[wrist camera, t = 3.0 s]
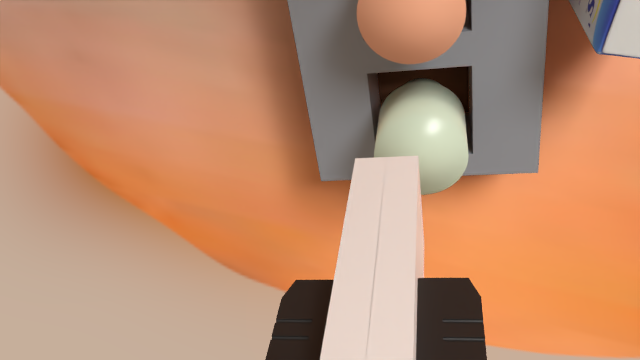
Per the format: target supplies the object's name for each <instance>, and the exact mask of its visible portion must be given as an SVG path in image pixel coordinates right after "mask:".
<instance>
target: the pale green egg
mask: <svg viewBox="0 0 640 360" xmlns="http://www.w3.org/2000/svg"><path fill="white" fill-rule="evenodd" d="M398 156H418V158H419V173H420V188H421V195H425V194H432V193H437V192H440V191H442V190H445V189H447V188H448V187H450V186H452V185H453V184H454V183H456V182H457V181H458V180H459V179H460V177H461V176H462V175H463V173H464V171H465V169H466V167H467V164H468V156H469V155H468V144H467V133H466V122H465V112H464V108H463V105H462V103H461V101H460V100H459V98H458V97H457V96H456V95H455V94H454V93H453V92H452V91H451V90H449V89H448V88H446V87H444V86H442V85H441V84H440V83H438V82H437V81H435V80H432V79H429V78H416V79H413V80H410V81H408V82H407V83H405V84H404V85H403V86H401V87H399V88H397V89H396V90H394V91H393V92H392V93H391V94H390V95H388V97H387V98H386V99H385V101H384V102H383V104H382V106H381V109H380V113H379V120H378V127H377V135H376V142H375V149H374V158H376V157H398Z"/></svg>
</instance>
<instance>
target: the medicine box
mask: <svg viewBox="0 0 640 360" xmlns="http://www.w3.org/2000/svg"><path fill="white" fill-rule="evenodd" d="M569 2H570V4H571V6H572V8H573V10H574V11H575V14H576V16H577V17H578V19H579V21H580V23H581V25H582V27H583V29H584V31H585V33H586V35H587V37H588V39H589V41H590V42H591V44H592V46H593V48H594V50H595V51H596V53H597V54H604V55H614V56H622V57H631V58H639V59H640V0H569Z"/></svg>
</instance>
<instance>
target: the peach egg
mask: <svg viewBox="0 0 640 360" xmlns="http://www.w3.org/2000/svg"><path fill="white" fill-rule="evenodd" d="M465 18H466V1H465V0H358V4H357V22H358V27H359V30H360V33H361V35H362V37H363V39H364V40H365V42H366V43H367V44H368V46H369V47H370V48H371V49H372V50H373V51H374V52H376V53H377V54H378V55H380V56H381V57H383V58H385V59H387V60H389V61H392V62H396V63H400V64H419V63H424V62H428V61H430V60H433V59H435V58H437V57H439V56H440V55H442V54H443V53H445V52H446V51H447V50H448V49H449V48H450V47H451V46H452V45H453V44H454V43H455V42H456V40H457V39H458V37H459V35H460V33H461V31H462V29H463V26H464V23H465Z"/></svg>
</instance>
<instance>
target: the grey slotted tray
mask: <svg viewBox="0 0 640 360" xmlns="http://www.w3.org/2000/svg"><path fill="white" fill-rule="evenodd" d="M287 1H288V6H289V12H290V17H291V22H292V28H293V33H294V38H295V44H296V49H297V54H298V60H299V65H300V70H301V76H302V81H303V87H304V92H305V97H306V103H307V108H308V113H309V119H310V124H311V129H312V135H313V140H314V146H315V151H316V156H317V162H318V167H319V172H320V178H321V181H335V180H352V174H353V168H354V163H355V158H374V149H375V142H376V135H377V127H378V120H379V113H380V109H381V102H380V93H379V84H378V75H377V73H382V72H396V71H409V70H422V69H436V68H449V67H462V66H468V86H469V113H465V122H466V133H467V144H468V155H469V156H468V164H467V167H466V169H465V171H464V173H463V175H489V174H514V173H538V165H539V149H540V133H541V118H542V102H543V86H544V71H545V55H546V39H547V24H548V8H549V0H465V1H466V18H465V23H464V26H463V29H462V31H461V33H460V35H459V37H458V39H457V40H456V42H455V43H454V44H453V45H452V46H451V47H450V48H449V49H448V50H447V51H446V52H445V53H443V54H442V55H440V56H439V57H437V58H435V59H433V60H430V61H428V62H424V63H419V64H400V63H396V62H392V61H389V60H387V59H385V58H383V57H381V56H380V55H378V54H377V53H376V52H374V51H373V50H372V49H371V48H370V47H369V46H368V44H367V43H366V42H365V40H364V39H363V37H362V35H361V33H360V30H359V27H358V22H357V4H358V0H287ZM463 175H462V176H463Z"/></svg>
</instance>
